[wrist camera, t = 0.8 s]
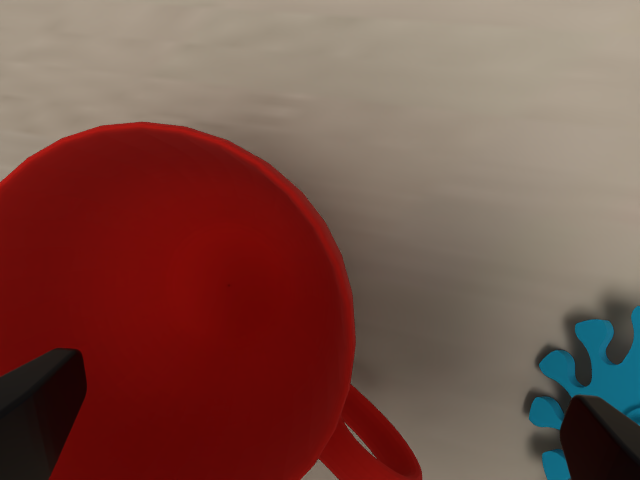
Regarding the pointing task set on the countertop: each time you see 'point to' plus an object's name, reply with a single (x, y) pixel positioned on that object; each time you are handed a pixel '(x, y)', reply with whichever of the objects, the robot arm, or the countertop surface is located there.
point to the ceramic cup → (187, 311)
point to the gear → (607, 383)
